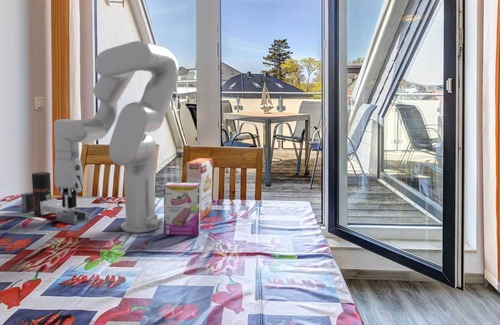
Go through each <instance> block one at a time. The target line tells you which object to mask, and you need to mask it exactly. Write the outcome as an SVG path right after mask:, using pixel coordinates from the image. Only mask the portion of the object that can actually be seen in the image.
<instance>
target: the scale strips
mask: <svg viewBox="0 0 500 325" xmlns="http://www.w3.org/2000/svg"><path fill="white" fill-rule="evenodd" d="M31 220H34V221H40V222H44V221H47V220H48V219H47V218H44V217H38V216H35V217H33V218H31Z"/></svg>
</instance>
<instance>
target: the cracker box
mask: <svg viewBox="0 0 500 325" xmlns="http://www.w3.org/2000/svg"><path fill="white" fill-rule="evenodd" d="M213 161H214V160H213V158H206V157H203V158H201V157H199V158H198V157H197V158H196V159H192V160H191V161H187V162H186V183H200V184H201V198H200V221H201V220H203V219H204V218H205V217H207V215H208V214H210V213H211V212H210V211H212V203H213V202H212V194H213ZM204 216H205V217H204Z"/></svg>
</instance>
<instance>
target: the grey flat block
mask: <svg viewBox="0 0 500 325" xmlns="http://www.w3.org/2000/svg"><path fill="white" fill-rule="evenodd" d="M20 195H21V196H20V197H21V211H22V213H23V214H30V213H34V204H33V191H29V192H25V193H21V194H20Z"/></svg>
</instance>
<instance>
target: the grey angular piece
mask: <svg viewBox="0 0 500 325" xmlns="http://www.w3.org/2000/svg"><path fill="white" fill-rule="evenodd" d="M67 197H69V195H68V192H65V193H64V202H65V207H62V206H59V205H58V198H57V197H56V198H55V197H54V198H51V199H49V200H45V201H40V206H41V215H44V214H48V213H51V214H56V212H64V213H69V214H73V215H75V211H74V210H75V207H74V208H70V209H69V208H68V201H67ZM44 216H45V215H44Z"/></svg>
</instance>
